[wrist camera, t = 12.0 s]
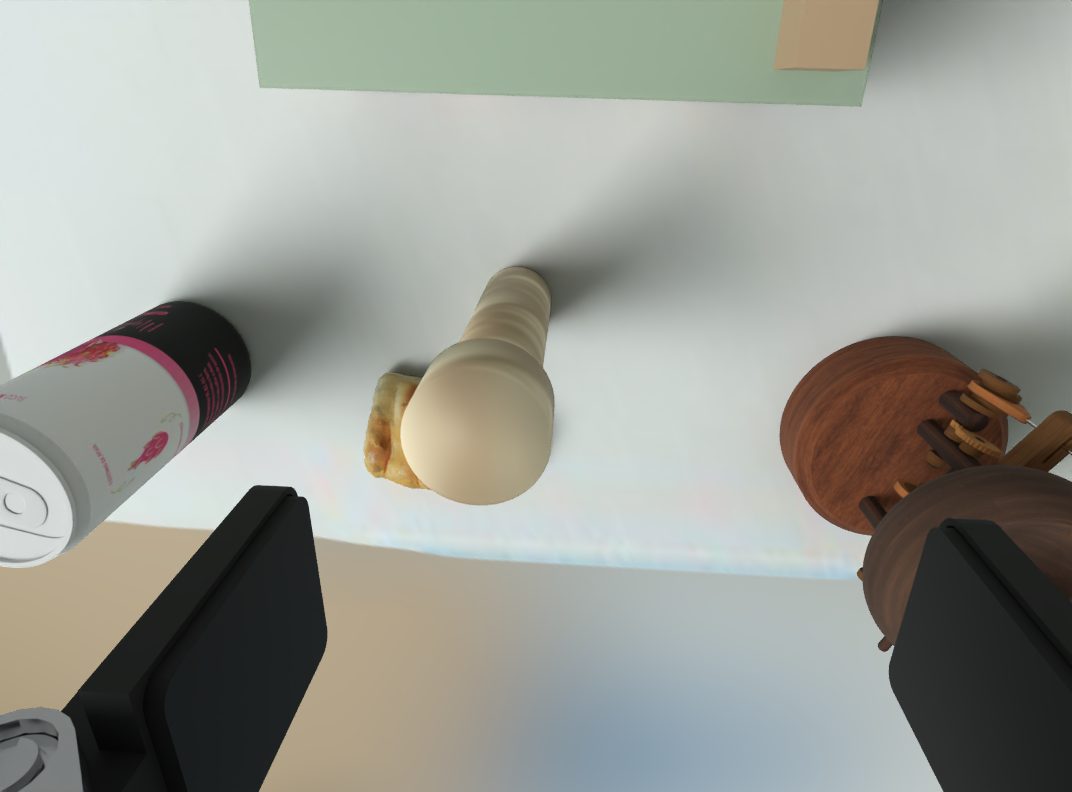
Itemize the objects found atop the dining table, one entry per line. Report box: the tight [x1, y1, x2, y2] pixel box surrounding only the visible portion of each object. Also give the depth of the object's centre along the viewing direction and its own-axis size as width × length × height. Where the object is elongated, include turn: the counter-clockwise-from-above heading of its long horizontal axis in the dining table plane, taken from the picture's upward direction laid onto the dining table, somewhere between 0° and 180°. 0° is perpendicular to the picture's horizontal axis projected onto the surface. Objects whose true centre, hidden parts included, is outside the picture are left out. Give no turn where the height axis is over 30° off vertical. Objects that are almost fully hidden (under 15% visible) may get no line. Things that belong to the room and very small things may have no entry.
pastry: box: [364, 373, 431, 490], centre depth 38 cm, size 9×7×4 cm
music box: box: [780, 337, 1072, 652], centre depth 30 cm, size 15×11×20 cm
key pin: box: [400, 267, 554, 505], centre depth 29 cm, size 5×5×16 cm
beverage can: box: [0, 301, 251, 568], centre depth 32 cm, size 6×7×15 cm
